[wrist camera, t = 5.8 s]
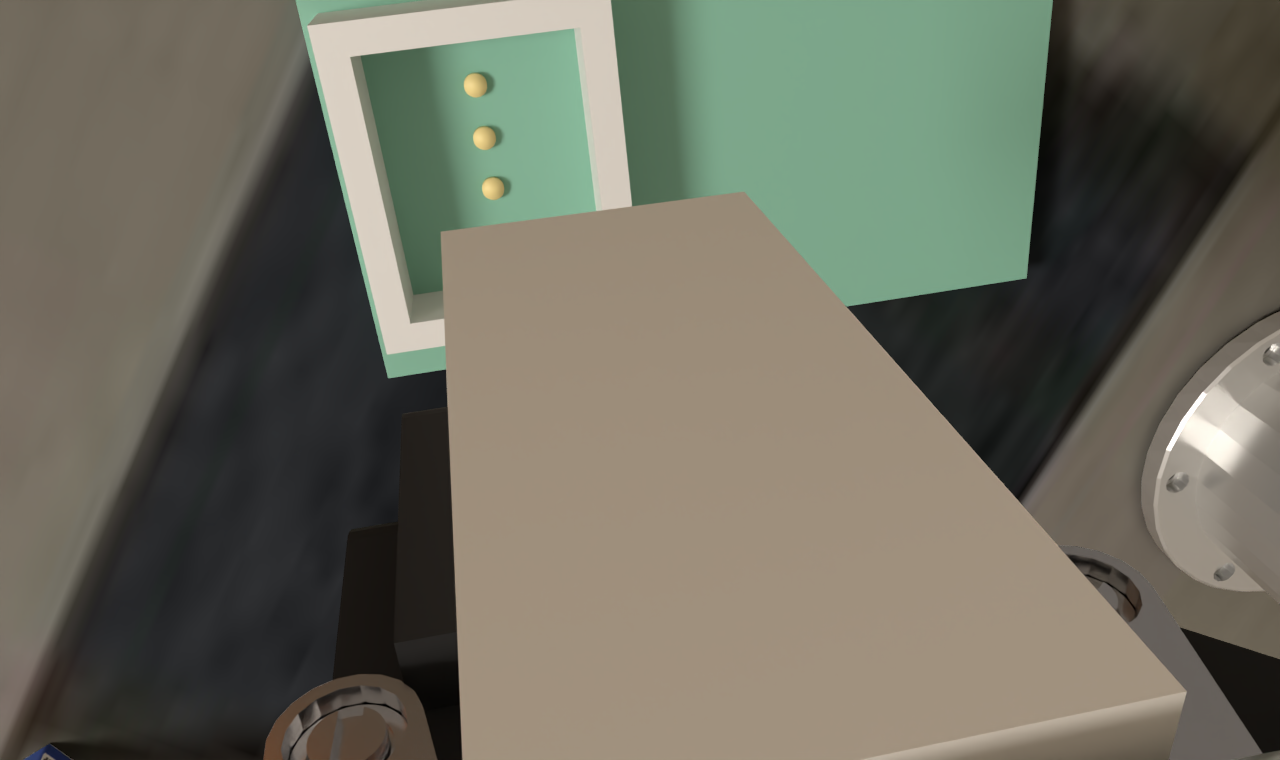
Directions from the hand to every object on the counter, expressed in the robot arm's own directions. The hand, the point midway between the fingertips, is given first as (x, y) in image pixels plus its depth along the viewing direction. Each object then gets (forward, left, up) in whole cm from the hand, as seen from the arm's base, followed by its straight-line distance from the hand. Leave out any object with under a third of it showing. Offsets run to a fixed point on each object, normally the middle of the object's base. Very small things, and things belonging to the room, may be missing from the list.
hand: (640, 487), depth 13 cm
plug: (0, 0, -2) cm, 2 cm away
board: (-4, 0, -18) cm, 19 cm away
